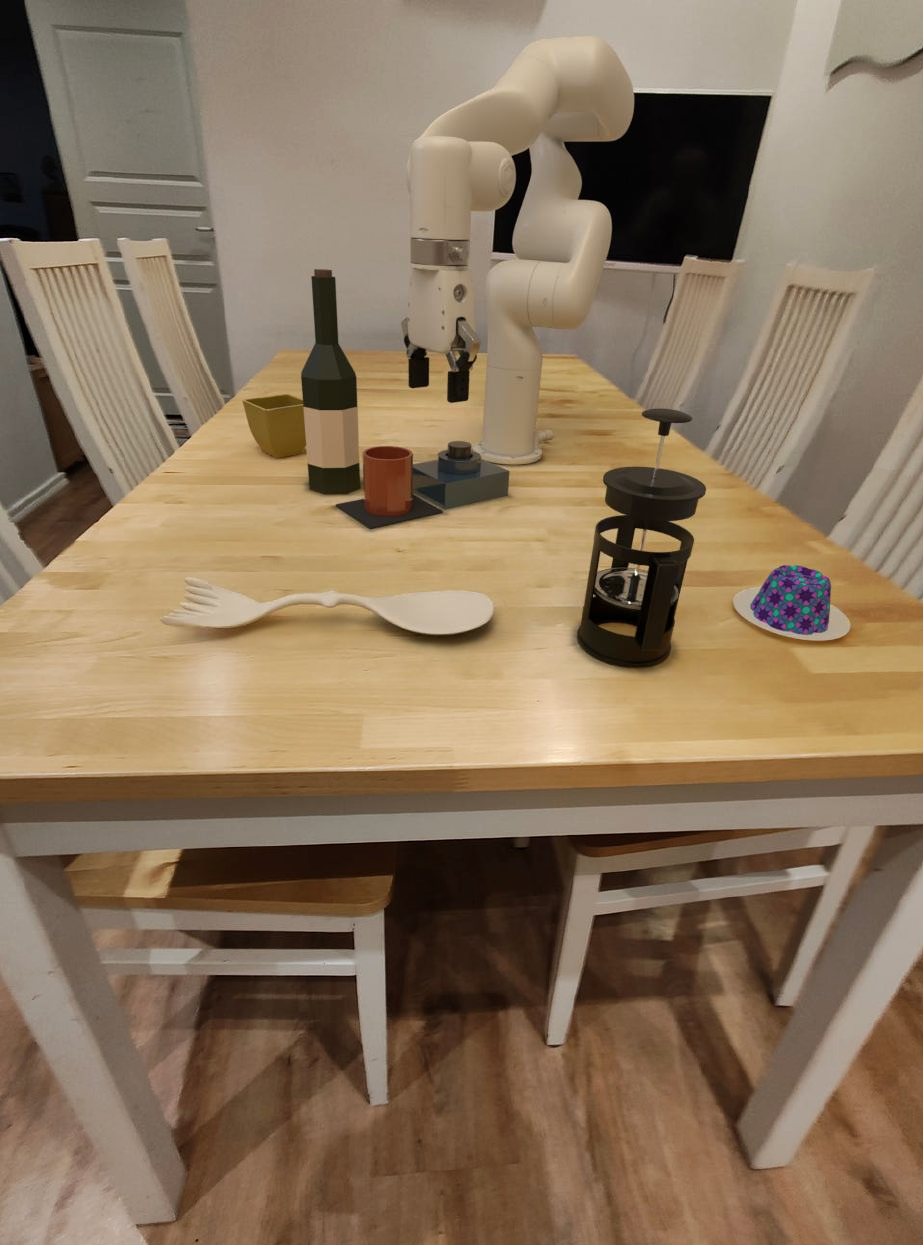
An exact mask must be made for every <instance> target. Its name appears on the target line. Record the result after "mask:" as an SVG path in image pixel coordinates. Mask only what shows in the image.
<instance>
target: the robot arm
mask: <svg viewBox="0 0 923 1245" xmlns="http://www.w3.org/2000/svg"><path fill="white" fill-rule="evenodd" d="M634 109H635V92H634V87H633V82H632V79H631V78H630V75H629V73H628V71H627V70H626V68H625V66H624V64H623V63H622V61H621V59H620V57H619V55H618V54H617V52H616V51H615V49H614V47H612V46H611V45H610V43H608V41H606V40H605V39H603V38H602V37H600V36H598V35H579V36H563V37H561V36H559V37H546V38H541V39H538V40H534V41H533V42H530V43H528V45H526V46H525V47H524V48H523V49H522V50H521V51H520V53H518V55H517V56H516V57H515V59H514V60H513V61H512V63H511V64H510V65H509V67H508V68H507V70H506V71H505V72H504V74H503V75H502V76H501V77H500V78H499V80H498V81H497V82H496V84H495V85H494V86H493V87H492V88H491V89H489V90H486V91H484V92H482V93H479V94H478V95H476V96H474V97H472V98H470V99H469V100H466V101H465V102H463V103H461V104H459V105H457V106H455V107H453V108H451V109H449V110H448V111H446V112H444V113H443V114H441V115H439V116H438V117H437V118H436V119H434V120H433V121H432V122H431V123H430V124H429V125H428V127H427V128H426V129H425V130H424V132H422V134H421V135H420V137H418V138H416V139H414V141H413V142H412V144H411V147H410V152H409V153H410V154H409V156H408V160H407V163H406V170H405V181H406V182H405V183H406V187H407V190H408V193H409V199H410V200H409V216H410V218H409V221H410V222H409V225H410V227H409V229H410V232H409V234H410V235H409V237H410V244H409V245H410V248H409V249H410V275H409V284H408V296H407V297H408V300H407V316H406V317H405V318H404V319H403V320H402V321H401V323H400V325H401V330H402V334H403V344H404V345H405V348H406V351H405V355H406V357H407V360H408V366H407V367H408V372H407V374H408V388H410V389H420V388H428V387H429V385H430V357H428V356H427V355H428V353H429V351H431V352H434V353H437V354H442V355H445V358H446V360H447V362H448V365H449V367H450V370H448V371H447V387H446V388H447V389H446V400H447V402H448V403H450V404H454V403H455V404H456V403H463V402H467V401H468V400H469V395H470V372H471V371H472V370H473V368H474V364H475V362H477V360H478V353H479V350H480V347H481V344H482V339H481V338H480V336H479V335H478V334H477V333H476V305H475V304H476V301H475V300H476V299H475V288H474V281H473V274H472V270H471V269H470V248H471V247H470V245H471V225H472V224H471V222H472V212H494V211H496V210H497V211H498V210H499V209H500V208H502V207H504V206H505V205H506V204H507V203H508V202H509V200H510V199H511V197H512V195H513V193H514V190H515V188H516V187H515V186H516V181H517V172H516V164H515V161H514V159H513V157H512V156H514V155H518V154H520V153H523V152H525V151H527V150H528V149H529V156H530V163H531V175H530V180H529V183H528V186H527V189H526V191H525V195H524V198H523V201H522V204H521V207H520V209H519V213H518V216H517V219H516V222H515V225H514V229H513V232H512V240H511V241H512V242H511V245H512V251H513V253H514V255H515V256H516V258H517V259H507V260H502V261H501V262H498V263H496V264H495V265H493V266H492V267H491V269H490V270H489V271H488V274H487V275H486V277H485V278H486V279H485V282H484V283H485V284H484V302H485V303H484V304H485V312H486V323H487V347H486V353H487V354H486V366H485V383H484V400H483V419H482V420H483V421H482V434H481V441H479V442H476V444H474V445H473V447H472V451H475V452H477V453H479V454H480V455H481V459H483V460H485V461H487V462H490V463H492V464H499V465H510V466H511V465H512V466H513V465H514V466H515V465H517V466H519V465H527V464H533V463H535V462H538V461H540V460H541V459H542V457H543V450H542V449H541V448H540V447H539V444H541V443H542V442H548V441H549V442H550V441H552V440H553V439H554V438H555V433H554V431H553V430H552V429H547V430H546V429H545V430H541V431H540V429H538V428H537V420H538V410H539V401H540V400H539V398H540V388H541V378H542V370H543V369H542V368H543V359H544V358H543V356H544V355H543V349H542V346H541V343H540V340H539V338H538V337H537V334H536V332H535V330H534V328H546V329H555V330H574V329H577V328H579V327H580V326H582V325H583V324H584V322H585V321H586V319H587V317H588V315H589V313H590V310H591V307H592V304H593V301H594V298H595V295H596V291H597V289H598V286H599V282H600V280H601V276H602V273H603V270H604V267H605V264H606V261H607V257H608V254H609V250H610V246H611V240H612V235H613V234H612V232H613V222H612V216H611V212H610V211H609V209H608V208H607V206H606V205H605V204H603V203H602V202H600V201H597V200H593V199H592V200H591V199H590V200H589V199H579V197H580V194H581V191H582V187H583V186H582V185H583V181H582V175H581V172H580V169H579V167H578V165H577V164H576V162H575V159H574V158H573V156H572V155H571V154H570V152H569V151H568V150H567V148H566V146H565V143H566V142H578V143H579V142H613V141H617V140H618V139H620V138H622V137H623V136H624V135H625V134H626V133H627V131H628V129H629V128H630V125H631V122H632V119H633V116H634ZM456 356H459V357H458V358H457V357H456Z"/></svg>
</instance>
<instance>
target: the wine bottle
mask: <svg viewBox="0 0 923 1245" xmlns="http://www.w3.org/2000/svg"><path fill="white" fill-rule="evenodd" d="M313 273H314V275H311V276H310V278H311V291H312V292H311V294H312V295H311V296H312V309H313V325H314V339H315V343H314V345H313V346H312V349H311V351H310V353H309V355H308V357H307V359H306V361H305V363H304V366H303V368H302V370H301V373H300V381H301V382H300V383H301V393H302V394H301V396H302V399H303V409H304V422H305V435H306V446H305V448H306V460H307V472H308V474H307V475H308V487H309V491H311V492H315V493H317V494H320V495H324V496H329V495H330V496H331V495H333V496H334V495H348V494H351V493H353V492H357V491H359V490H361V471H360V470H361V467H360V466H361V465H360V441H359V440H360V439H359V413H358V411H359V410H358V409H359V408H358V385H357V384H358V383H357V382H358V380H357V374H356V372H355V370H354V368H353V366H352V364H351V363H350V360H349V359H348V357H347V356H346V354H345V352H344V350H343V349H342V347H341V345H340V343H339V326H338V324H339V323H338V304H337V303H338V302H337V285H336V284H337V282H336V276H333V270H332V269H327V268H325V269H324V268H315V269H313Z"/></svg>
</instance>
